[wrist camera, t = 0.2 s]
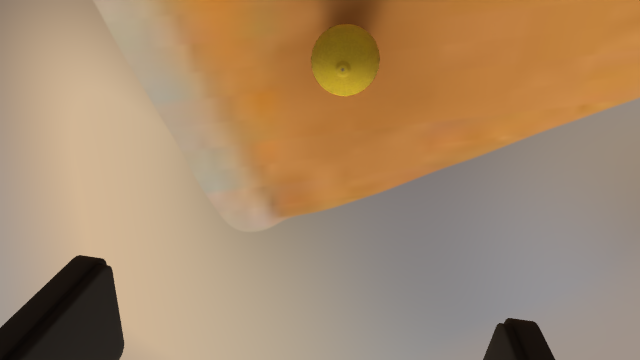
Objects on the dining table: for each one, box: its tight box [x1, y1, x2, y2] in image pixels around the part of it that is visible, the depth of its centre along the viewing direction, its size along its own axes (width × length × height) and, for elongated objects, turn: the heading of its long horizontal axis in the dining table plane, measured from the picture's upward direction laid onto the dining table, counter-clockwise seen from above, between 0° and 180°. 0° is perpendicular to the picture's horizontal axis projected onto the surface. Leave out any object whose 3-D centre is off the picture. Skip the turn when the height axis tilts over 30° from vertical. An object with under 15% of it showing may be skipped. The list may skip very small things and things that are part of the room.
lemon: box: [311, 24, 380, 96], centre depth 33 cm, size 6×6×8 cm
